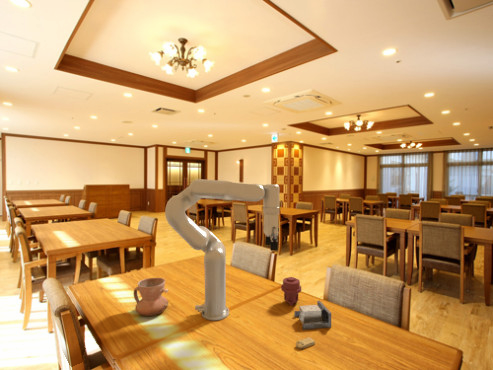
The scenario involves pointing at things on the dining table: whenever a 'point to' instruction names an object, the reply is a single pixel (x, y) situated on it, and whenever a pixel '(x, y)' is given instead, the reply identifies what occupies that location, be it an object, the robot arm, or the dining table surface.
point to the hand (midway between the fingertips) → (271, 247)
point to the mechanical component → (291, 289)
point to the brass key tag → (305, 343)
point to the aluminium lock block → (310, 314)
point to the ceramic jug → (151, 297)
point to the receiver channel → (325, 317)
